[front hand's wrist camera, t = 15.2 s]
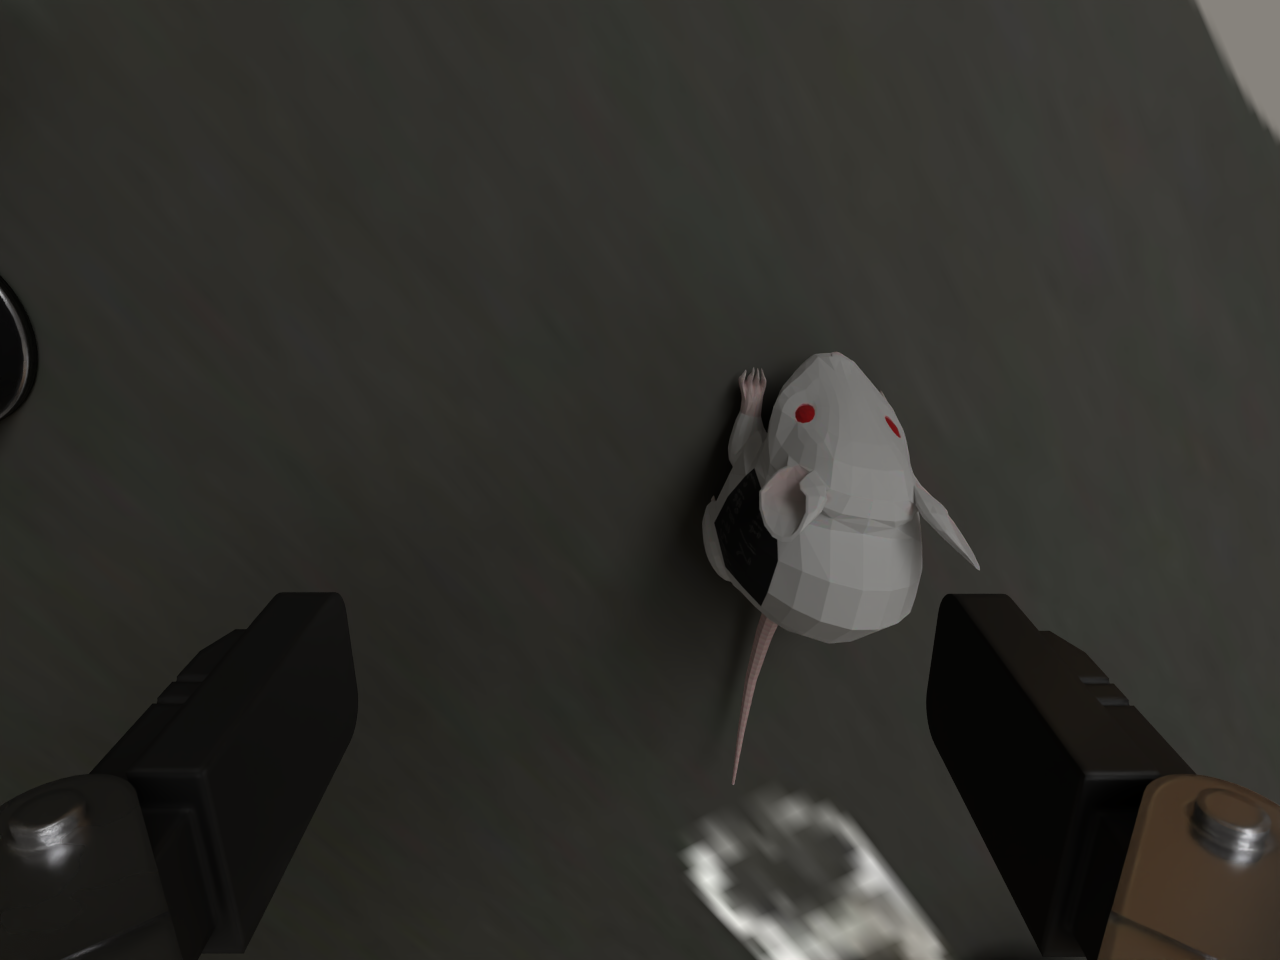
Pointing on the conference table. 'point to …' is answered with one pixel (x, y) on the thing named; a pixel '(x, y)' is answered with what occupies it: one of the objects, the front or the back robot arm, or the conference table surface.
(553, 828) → the conference table surface
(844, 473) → the toy
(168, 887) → the front robot arm
